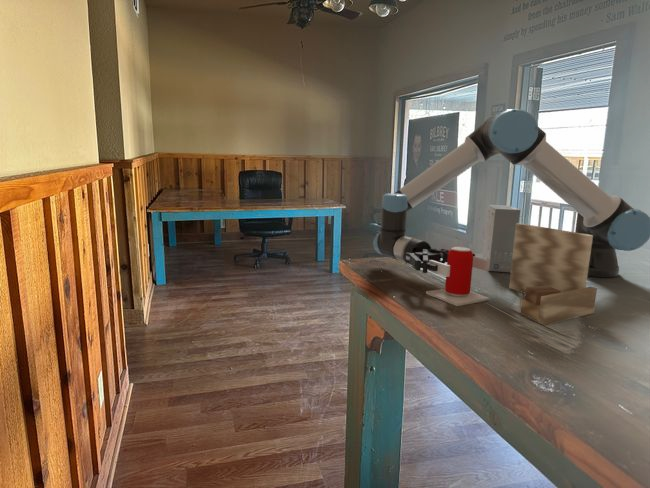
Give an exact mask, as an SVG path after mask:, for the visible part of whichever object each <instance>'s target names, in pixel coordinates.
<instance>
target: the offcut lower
mask: <svg viewBox="0 0 650 488" xmlns="http://www.w3.org/2000/svg"><path fill="white" fill-rule="evenodd" d="M539 310H540V305H534V304H532V303H530V302H528V301H527V300H525V299H522V300H521V304H520V311H519V314H520V315H522V316H525V317H527V318H531V319H532V320H533V319H534V320H535V321H538V318H539Z"/></svg>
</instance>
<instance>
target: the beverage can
mask: <svg viewBox="0 0 650 488" xmlns="http://www.w3.org/2000/svg"><path fill="white" fill-rule="evenodd" d="M473 254H474V253H473V251H472V249H470V248H469V247H465V246H464V247H463V246H454V247H451V248H450V249H449V252H448V258H447V262H446V264H447V265H450V275H449V277H446V276H445V284H444V286H445V287H444V288H445V290H446V292H447V293H449V294H450V295H452V296H456V297H464V296H466V295H468V294H469V293H470V291H471V289H472V287H471V284H472V277H473V275H472V274H473V267H472V266H473Z"/></svg>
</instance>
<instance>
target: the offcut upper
mask: <svg viewBox="0 0 650 488" xmlns="http://www.w3.org/2000/svg"><path fill="white" fill-rule="evenodd" d="M556 293H561V291H559V290H557V289H555V288H552V287H550V286H538V287H526V290H525V293H524V299H523V300H527V301H528V302H530V303H532V304H534V305H540V301H541V296H546V295H551V294H556Z"/></svg>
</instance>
